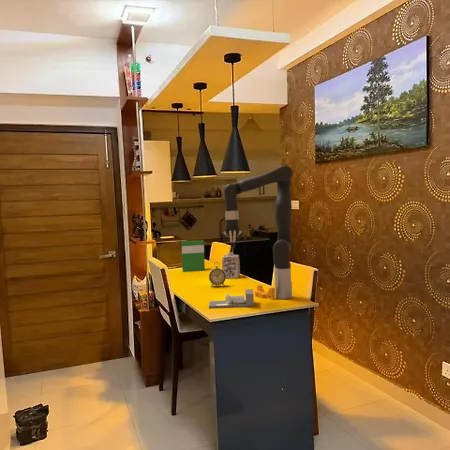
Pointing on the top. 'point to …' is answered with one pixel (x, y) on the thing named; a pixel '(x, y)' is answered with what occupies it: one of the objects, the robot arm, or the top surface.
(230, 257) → the decorative jar
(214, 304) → the base
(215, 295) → the top surface
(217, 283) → the alarm clock
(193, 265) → the hardback book
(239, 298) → the block
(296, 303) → the top surface
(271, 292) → the pipe clamp
